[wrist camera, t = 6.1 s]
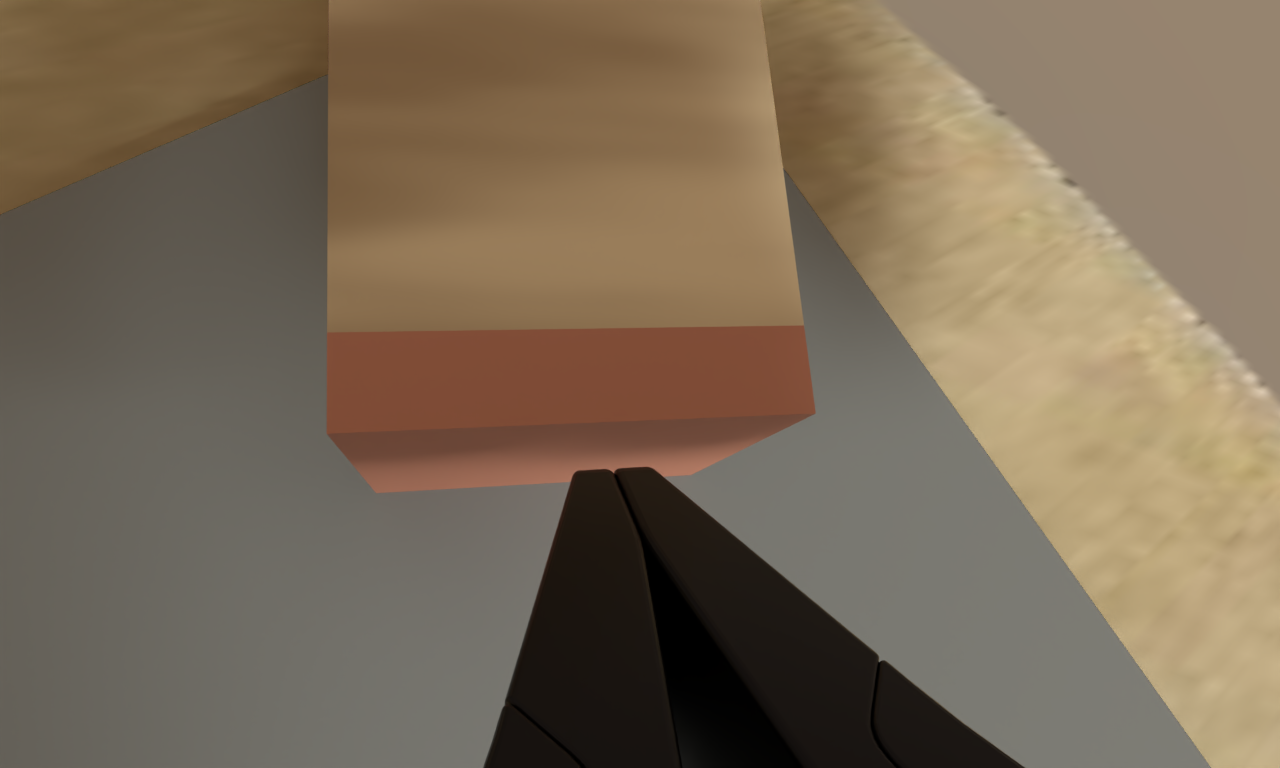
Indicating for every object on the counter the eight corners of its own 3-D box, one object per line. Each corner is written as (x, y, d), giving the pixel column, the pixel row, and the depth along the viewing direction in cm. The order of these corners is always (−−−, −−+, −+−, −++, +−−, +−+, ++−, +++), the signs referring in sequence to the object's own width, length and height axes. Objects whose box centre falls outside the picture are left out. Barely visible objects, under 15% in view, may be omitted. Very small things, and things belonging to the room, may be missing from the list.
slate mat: (1298, 919, 17) (1327, 930, 17) (364, 2123, 11) (358, 2210, 10) (620, -36, 20) (625, -54, 19) (-515, 460, 13) (-560, 454, 12)
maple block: (816, 413, 11) (719, -306, 13) (326, 433, 9) (329, -372, 12) (690, 475, 16) (640, -39, 19) (375, 493, 15) (370, -63, 18)
